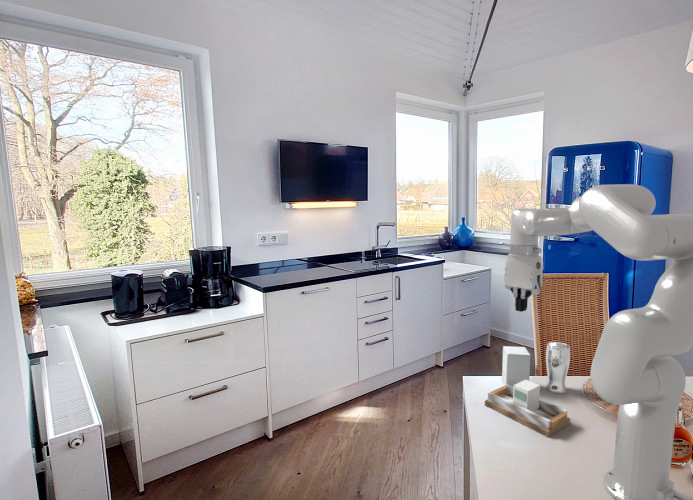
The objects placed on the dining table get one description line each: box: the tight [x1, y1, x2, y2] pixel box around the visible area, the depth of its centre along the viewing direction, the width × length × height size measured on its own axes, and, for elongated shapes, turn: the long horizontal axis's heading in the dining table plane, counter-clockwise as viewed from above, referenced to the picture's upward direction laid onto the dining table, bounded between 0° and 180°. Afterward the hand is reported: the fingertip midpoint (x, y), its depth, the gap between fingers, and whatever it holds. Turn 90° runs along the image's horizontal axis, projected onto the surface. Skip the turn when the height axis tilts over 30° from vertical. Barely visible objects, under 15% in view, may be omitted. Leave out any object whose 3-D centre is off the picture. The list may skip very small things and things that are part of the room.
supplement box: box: [501, 345, 531, 387], centre depth 134 cm, size 7×7×13 cm
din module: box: [513, 380, 541, 411], centre depth 116 cm, size 4×6×7 cm
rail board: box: [484, 385, 571, 438], centre depth 117 cm, size 20×11×4 cm, turn 34°
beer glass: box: [545, 341, 571, 394], centre depth 131 cm, size 7×7×15 cm
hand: (520, 310), depth 121 cm, fingers closed
